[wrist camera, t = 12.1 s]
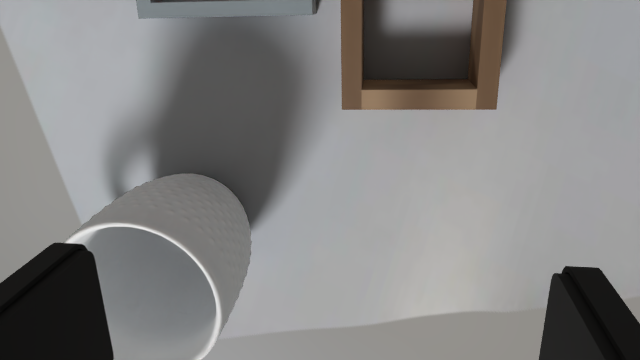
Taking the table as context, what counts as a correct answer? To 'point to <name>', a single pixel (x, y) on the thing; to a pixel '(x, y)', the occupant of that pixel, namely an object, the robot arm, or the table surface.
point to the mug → (169, 265)
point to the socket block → (425, 92)
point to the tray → (223, 8)
